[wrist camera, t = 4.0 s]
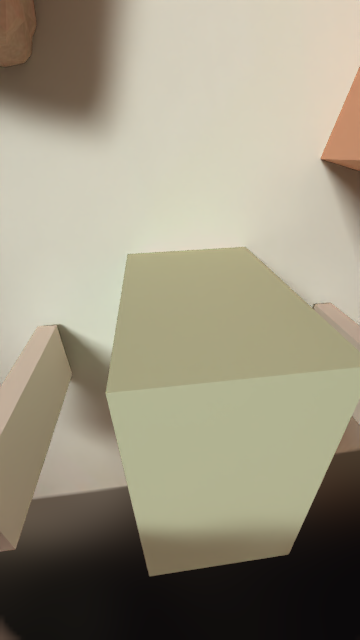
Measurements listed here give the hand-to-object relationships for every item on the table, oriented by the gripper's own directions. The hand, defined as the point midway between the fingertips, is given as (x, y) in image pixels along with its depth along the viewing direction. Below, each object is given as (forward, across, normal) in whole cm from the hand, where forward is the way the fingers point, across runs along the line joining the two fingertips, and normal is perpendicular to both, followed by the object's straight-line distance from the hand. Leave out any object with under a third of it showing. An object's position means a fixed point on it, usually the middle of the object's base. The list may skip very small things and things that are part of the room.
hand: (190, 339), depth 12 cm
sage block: (0, 0, 0) cm, 0 cm away
